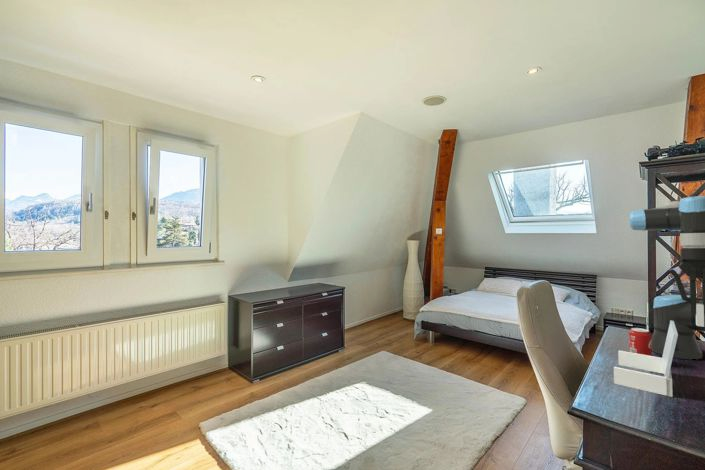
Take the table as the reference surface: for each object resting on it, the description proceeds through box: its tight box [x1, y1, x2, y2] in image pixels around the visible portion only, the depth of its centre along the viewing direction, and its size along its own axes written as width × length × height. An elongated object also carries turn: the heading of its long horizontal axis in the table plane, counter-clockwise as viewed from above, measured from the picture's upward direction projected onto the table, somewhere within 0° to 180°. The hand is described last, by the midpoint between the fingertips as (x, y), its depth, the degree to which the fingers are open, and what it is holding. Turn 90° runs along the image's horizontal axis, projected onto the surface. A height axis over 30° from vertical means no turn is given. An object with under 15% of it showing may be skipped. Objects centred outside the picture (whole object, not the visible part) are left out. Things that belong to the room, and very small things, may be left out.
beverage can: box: [628, 327, 653, 356], centre depth 120 cm, size 6×6×12 cm
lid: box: [661, 320, 678, 377], centre depth 101 cm, size 13×22×1 cm
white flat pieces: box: [613, 349, 673, 398], centre depth 106 cm, size 13×22×5 cm, turn 137°
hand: (700, 325), depth 97 cm, fingers closed
